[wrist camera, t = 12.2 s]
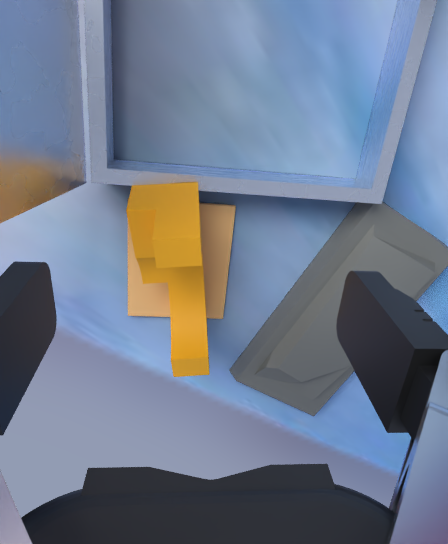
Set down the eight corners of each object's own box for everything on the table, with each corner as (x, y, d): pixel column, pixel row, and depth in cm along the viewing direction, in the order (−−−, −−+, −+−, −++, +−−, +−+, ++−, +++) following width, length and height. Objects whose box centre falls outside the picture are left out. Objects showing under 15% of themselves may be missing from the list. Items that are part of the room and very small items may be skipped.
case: (446, -131, 24) (479, -156, 21) (364, 192, 32) (381, 203, 29) (87, -198, 21) (74, -236, 18) (99, 172, 29) (91, 182, 27)
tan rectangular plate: (235, 205, 31) (235, 206, 31) (222, 316, 36) (222, 318, 35) (128, 197, 30) (127, 199, 30) (128, 313, 35) (128, 315, 34)
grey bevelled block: (226, 366, 39) (230, 392, 36) (361, 187, 32) (380, 199, 29) (310, 403, 42) (321, 430, 39) (449, 247, 35) (475, 264, 32)
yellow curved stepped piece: (131, 185, 27) (119, 241, 22) (198, 182, 27) (200, 237, 22) (154, 314, 35) (149, 378, 30) (206, 311, 35) (209, 374, 30)
